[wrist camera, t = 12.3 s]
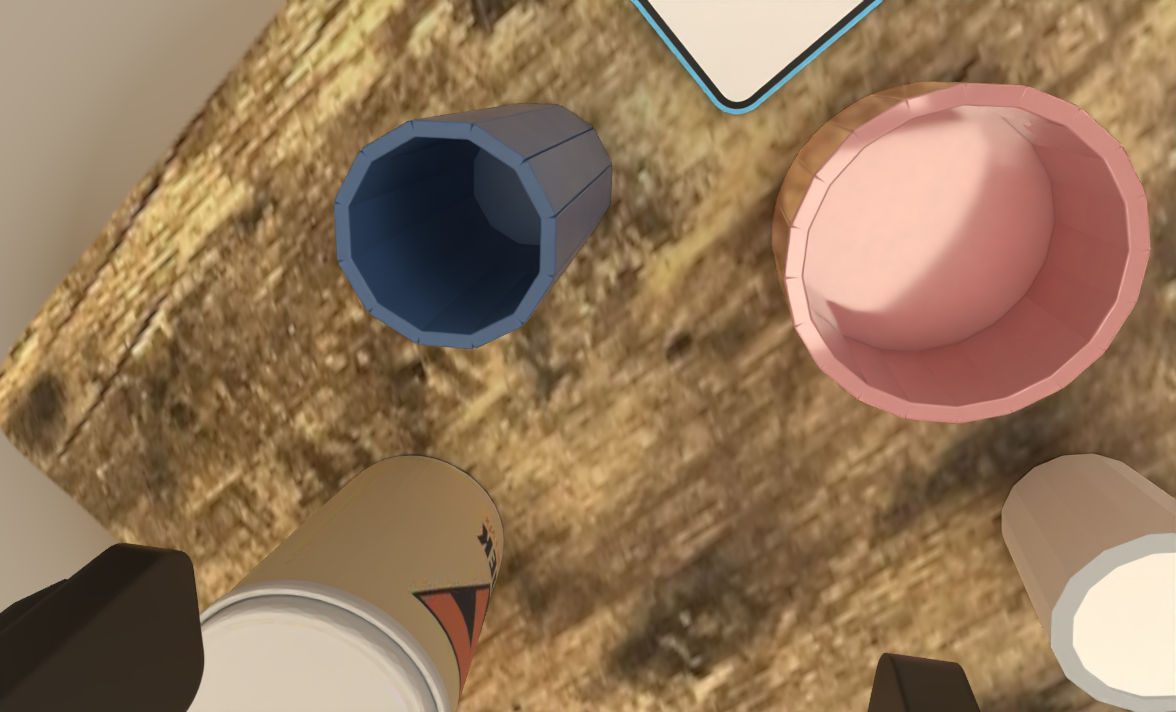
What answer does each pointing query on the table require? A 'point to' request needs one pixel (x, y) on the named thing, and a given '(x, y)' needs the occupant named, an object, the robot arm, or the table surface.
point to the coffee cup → (361, 601)
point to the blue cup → (469, 219)
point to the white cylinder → (1100, 575)
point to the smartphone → (749, 41)
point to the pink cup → (959, 247)
